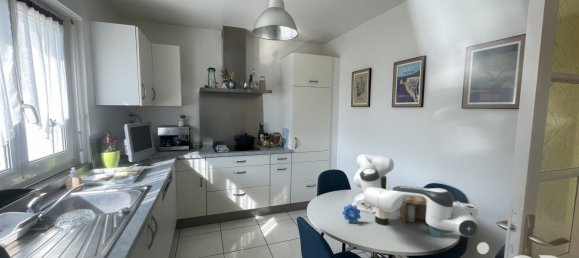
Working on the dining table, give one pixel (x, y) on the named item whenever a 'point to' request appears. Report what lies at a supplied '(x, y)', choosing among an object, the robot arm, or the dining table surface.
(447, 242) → the dining table surface
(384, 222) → the wine bottle
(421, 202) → the cubby
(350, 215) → the blue knobby ball
